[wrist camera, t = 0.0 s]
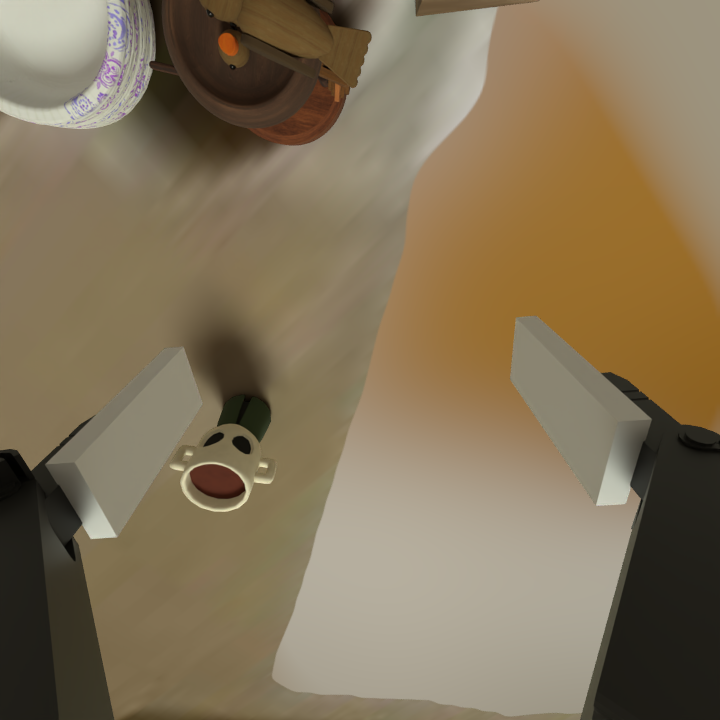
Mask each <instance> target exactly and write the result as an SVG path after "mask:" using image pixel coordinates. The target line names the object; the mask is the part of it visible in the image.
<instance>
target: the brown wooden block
mask: <svg viewBox="0 0 720 720" xmlns="http://www.w3.org/2000/svg"><path fill="white" fill-rule="evenodd" d="M537 1H539V0H416V16H424V15H432V14H440V13H448V12H456V11H464V10H473V9H481V8H489V7H497V6H505V5H513V4H521V3H529V2H537Z"/></svg>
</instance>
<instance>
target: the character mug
mask: <svg viewBox="0 0 720 720" xmlns="http://www.w3.org/2000/svg"><path fill="white" fill-rule="evenodd" d="M244 398H245V395H240V396H235V397H232V398H231V399H230V400H229V401H227V402H226V403H225V405H224V408H223V410H222V413H221V416H220V418H219V421H218V425H217V427H215V428H213V429H211V430H209V431H208V432H207V433H206V434H205V435H203V437H202V439H201V440H200V442H199V444H198V445H197V447H194V446H188V445H183V446H181V447H180V448H179V449H178V451H177V453H176V454H175V456H174V457H173V459H172V461H171V462H170V467H171V468H173V469H175V470H181V471H183V474H182V477H181V480H180V484H181V488H182V491H183V493H184V494H185V495H186V496H187V498H188V499H189V500H190V501H191V502H193V503H194V504H196V505H198V506H199V507H201V508H204V509H208V510H211V511H230V510H233V509H236V508H239V507H240V506H241V505H243V504H244V503H245V502H246V501H247V499H248V497H249V494H250V492H251V490H252V487H253V484H254V482H258V483H265V484H268V483H271V482H272V480H273V479H274V476H275V472H276V468H277V462H276V461H275V460H273V459H268V458H262V452H261V446H260V441H261V440H262V438H263V436H264V435H265V433H266V431H267V429H268V426H269V424H270V422H271V417H270V410H269V409H268V407H267V406H266V405H265V403H264V402H262V401H261V400H259V399H257V398H256V397H252V398H251V401H250V403H249V402H243V400H244ZM185 455H191V458H190V460H189V462H187V461H182V459H183V458H184V456H185ZM259 466H260V467H266V468H267V471H266V474H263V473H257V472H258V468H259Z"/></svg>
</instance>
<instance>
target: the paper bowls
mask: <svg viewBox="0 0 720 720" xmlns="http://www.w3.org/2000/svg"><path fill="white" fill-rule="evenodd" d="M155 51H156V44H155V27H154V19H153V13H152V9H151V5H150V1H149V0H0V111H2V112H4V113H6V114H8V115H10V116H13V117H15V118H18V119H21V120H24V121H27V122H30V123H36V124H43V125H51V126H55V127H64V128H74V129H90V128H98V127H103V126H106V125H110V124H112V123H114V122H117V121H118V120H120V119H121V118H123V117H124V116H126V115H127V114H128V113H129V112H130V111H131V110H132V109H133V108H134V107H135V105H136V104H137V103H138V102H139V101H140V99H141V98H142V96H143V94H144V92H145V90H146V88H147V85H148V83H149V80H150V77H151V74H152V70H153V69H151V68H150V66H149V62H150V61H154V60H155Z"/></svg>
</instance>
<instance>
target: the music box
mask: <svg viewBox="0 0 720 720" xmlns="http://www.w3.org/2000/svg"><path fill="white" fill-rule="evenodd" d="M333 8H334V4H333V2H331V1H330V0H162V23H163V31H164V36H165V41H166V44H167V48H168V51H169V54H170V57H171V60H172V62H173V64H174V66H172V65H168V64H164V63H159V62H155V61H150V62H149V66H150V68H151V69H153V70H157V71H162V72H166V73H170V74H175V75H179V76H180V78H181V80H182V81H183V83H184V85H185V86H186V87H187V89H188V90H189V91H190V93H191V94H192V95H193V96H194V98H195V99H196V100H197V101H198V102H199V103H200V104H201V105H202V106H203V107H205V108H206V109H207V110H208V111H210V112H211V113H212V114H214V115H215V116H217V117H218V118H220V119H222V120H224V121H226V122H228V123H231V124H233V125H236V126H240V127H245V128H248V129H250V130H251V131H252V132H254V133H255V134H256V135H258V136H260V137H262V138H263V139H266V140H268V141H271V142H274V143H279V144H284V145H303V144H307V143H310V142H312V141H315V140H317V139H318V138H320V137H321V136H323V135H324V134H325V133H326V132H327V131H329V129H330V128H331V127H332V126H333V125H334V123H335V122H336V121H337V119H338V117H339V115H340V113H341V111H342V109H343V106H344V103H345V100H346V95H349V91H350V87H351V88H354V87H356V86H357V83H358V81H357V77H358V76H359V75H360V74H361V66H362V65H363V64H364V55H365V54H366V53H367V51H368V46H367V45H368V43H370V41H371V33H370V32H369V31H364V30H359V29H353V28H347V27H341V26H336V25H335V24H334V22H333V20H332V19H331V17H330V16H329V14H328V13H330V14H332V12H333Z"/></svg>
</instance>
